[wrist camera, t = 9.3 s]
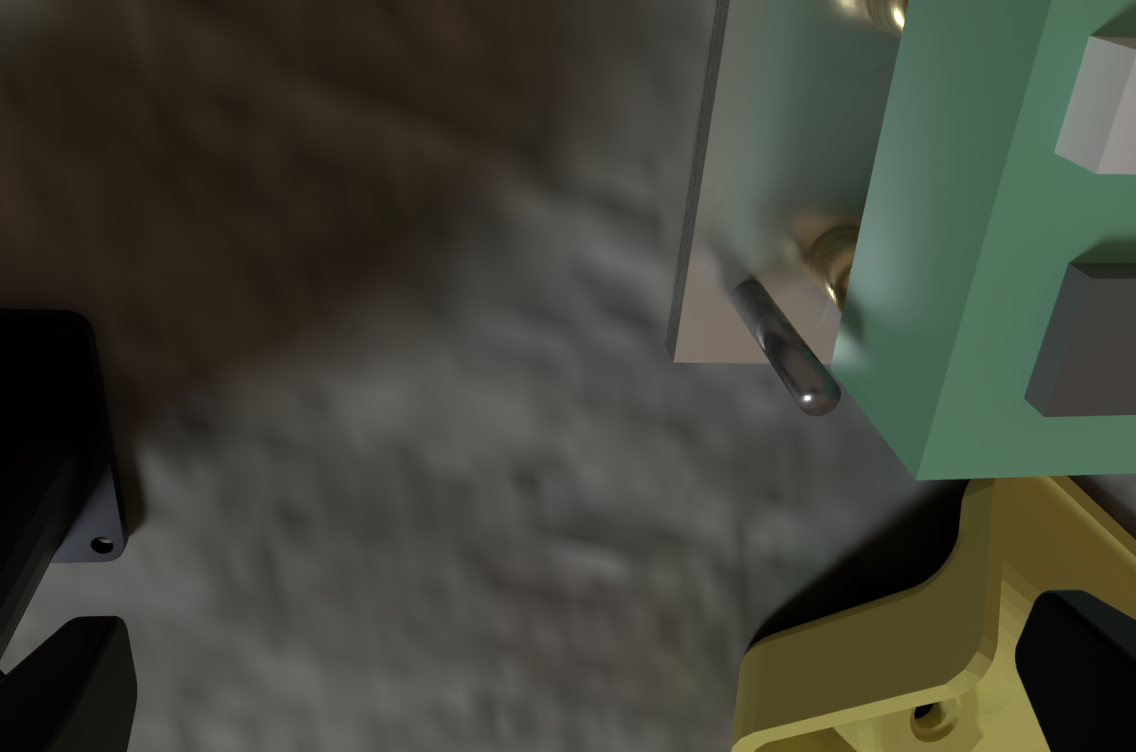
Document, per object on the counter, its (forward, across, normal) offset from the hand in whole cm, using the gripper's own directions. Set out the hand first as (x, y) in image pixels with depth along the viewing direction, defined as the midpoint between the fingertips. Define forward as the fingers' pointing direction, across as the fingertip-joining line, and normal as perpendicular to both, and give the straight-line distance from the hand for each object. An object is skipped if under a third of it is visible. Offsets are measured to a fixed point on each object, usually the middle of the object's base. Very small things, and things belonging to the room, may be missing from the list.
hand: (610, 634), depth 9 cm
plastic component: (+14, -17, +16) cm, 27 cm away
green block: (+10, -9, -2) cm, 13 cm away
